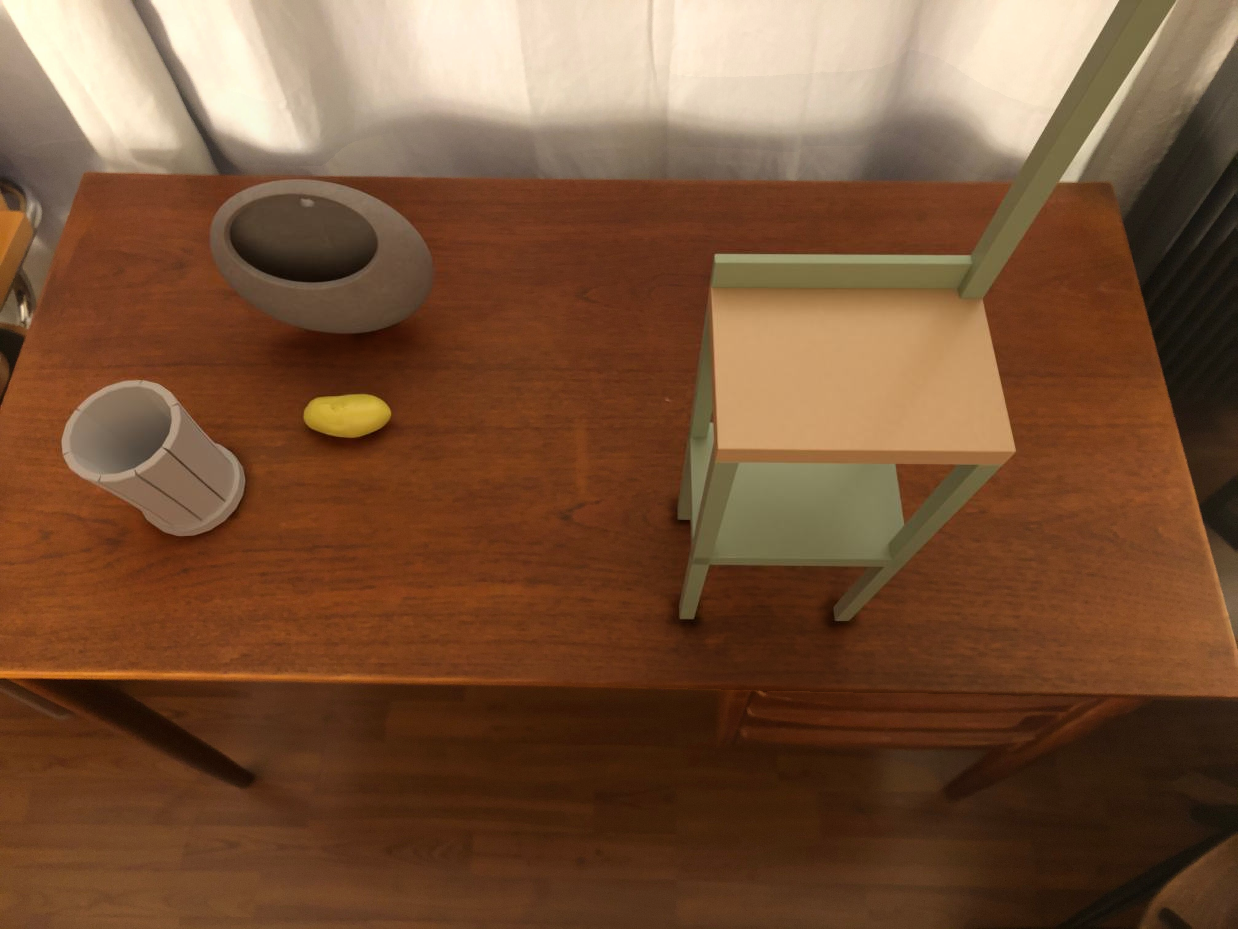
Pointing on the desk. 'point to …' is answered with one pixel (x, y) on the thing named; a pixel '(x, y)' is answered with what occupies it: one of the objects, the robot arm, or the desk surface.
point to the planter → (321, 256)
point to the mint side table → (866, 376)
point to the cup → (153, 457)
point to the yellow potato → (347, 415)
